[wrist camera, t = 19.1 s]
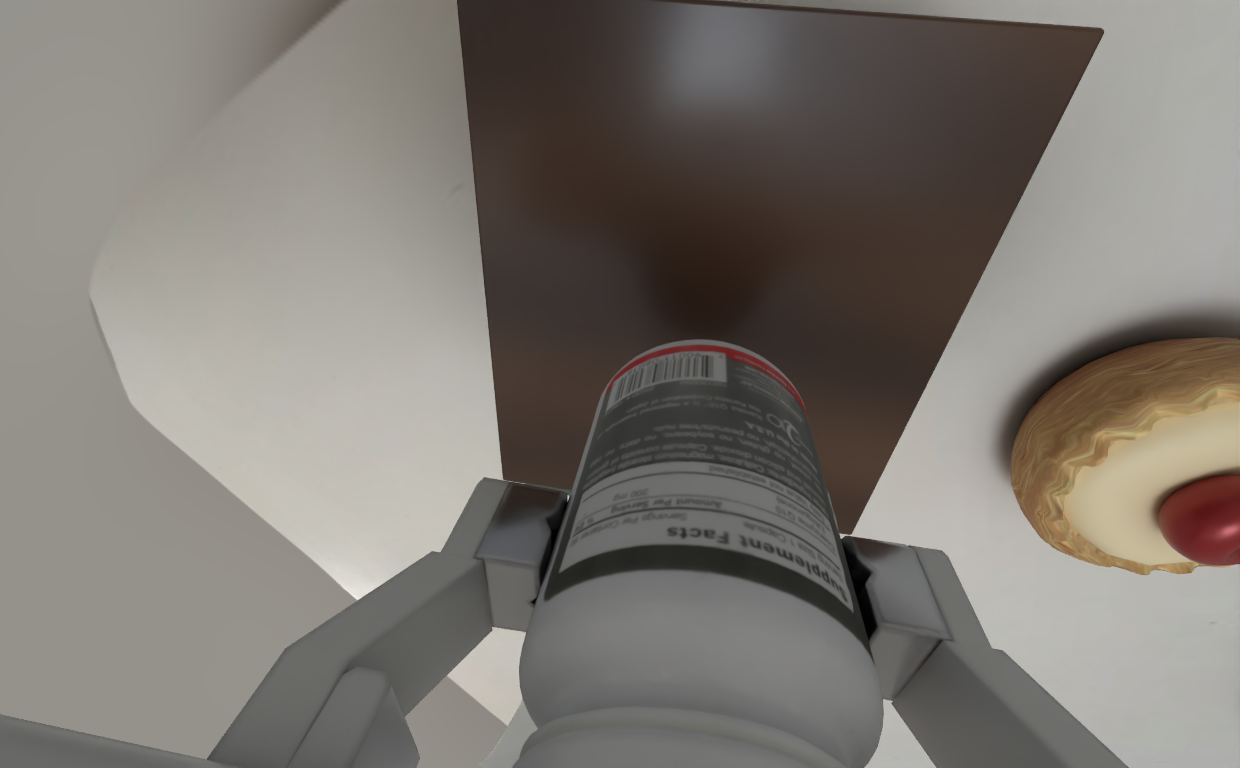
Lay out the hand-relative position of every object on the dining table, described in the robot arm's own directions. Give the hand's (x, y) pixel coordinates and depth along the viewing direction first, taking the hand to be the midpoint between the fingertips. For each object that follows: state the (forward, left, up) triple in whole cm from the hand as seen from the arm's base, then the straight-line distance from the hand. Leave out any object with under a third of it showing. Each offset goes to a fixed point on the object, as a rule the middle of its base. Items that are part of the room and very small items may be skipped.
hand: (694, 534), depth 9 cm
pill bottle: (0, 0, -4) cm, 4 cm away
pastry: (+7, +22, -17) cm, 29 cm away
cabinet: (0, 0, -17) cm, 17 cm away
